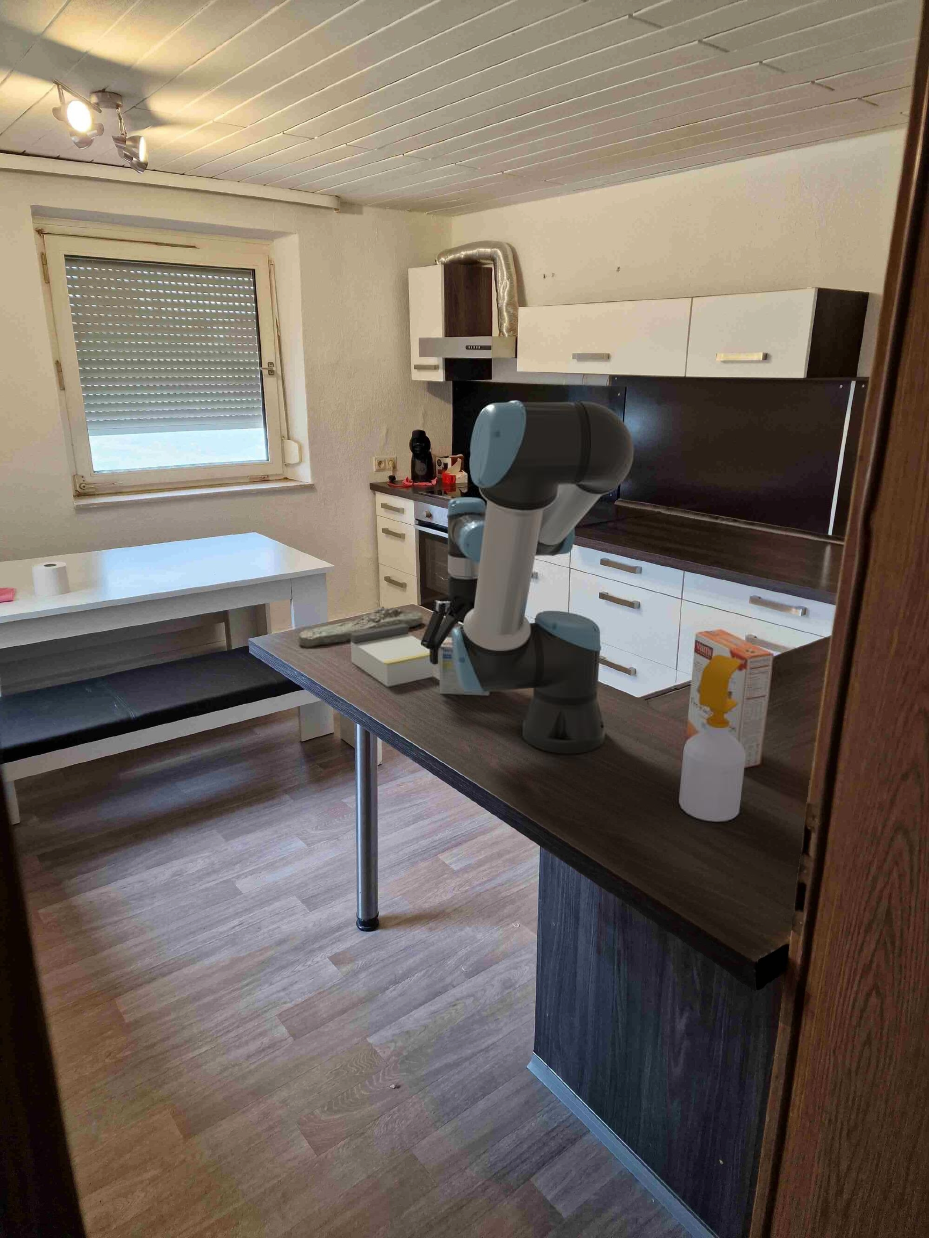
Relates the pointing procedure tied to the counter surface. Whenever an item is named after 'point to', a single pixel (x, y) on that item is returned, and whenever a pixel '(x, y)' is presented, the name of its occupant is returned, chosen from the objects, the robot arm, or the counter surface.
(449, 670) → the light bulb box
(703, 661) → the cracker box
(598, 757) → the counter surface
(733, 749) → the soap bottle
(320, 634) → the elongated rock
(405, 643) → the platform
